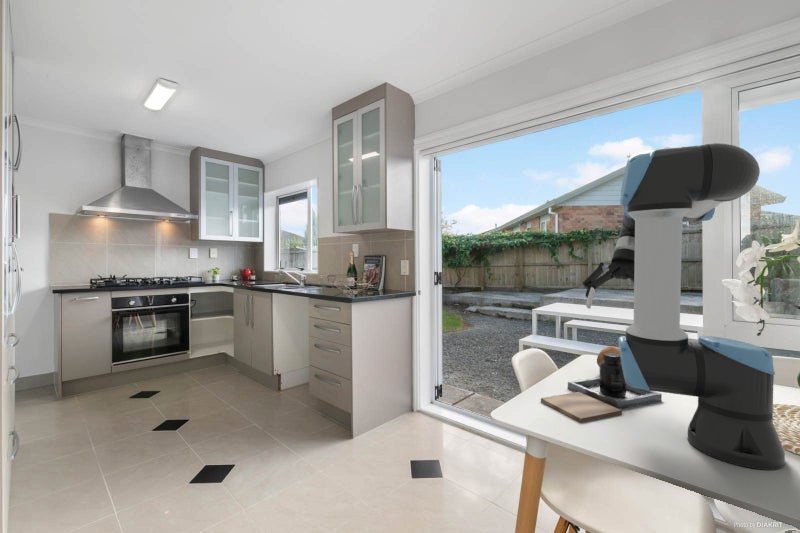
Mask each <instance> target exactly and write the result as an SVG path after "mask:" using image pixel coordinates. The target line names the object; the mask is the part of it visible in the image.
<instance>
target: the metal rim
mask: <svg viewBox="0 0 800 533" xmlns="http://www.w3.org/2000/svg"><path fill="white" fill-rule="evenodd" d="M595 386H600V376H598V377H597V376H596V377H589V378H585V379H579V380H578V379H577V380H571V381H570V380H569V381H567V389H569V390H572V391H573V392H580V393H583V394H585V395H587V396H590V397H592V398H594V399H597V400H599V401H601V402H604V403H606V404H608V405H611V406H613V407H615V408H618V409H620V410H622V409H626V408H632V407H638V406H643V405H647V404H648V405H649V404H653V403H657V402H661V401H662V398H663V397H662V393H661V392H657V391H647V390H644V389H638V388H633V387H631V386H629V385H628V384H627V383H626V391H629V392H632V393H635V394H638V395H636V396H631V397H630V396H629V397H627V398H625V397H624V398H619V399H616V398H613V397H608V396H605V395H603V394H601V392H598V391H595V390H593V389H590V388H588V387H595Z"/></svg>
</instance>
